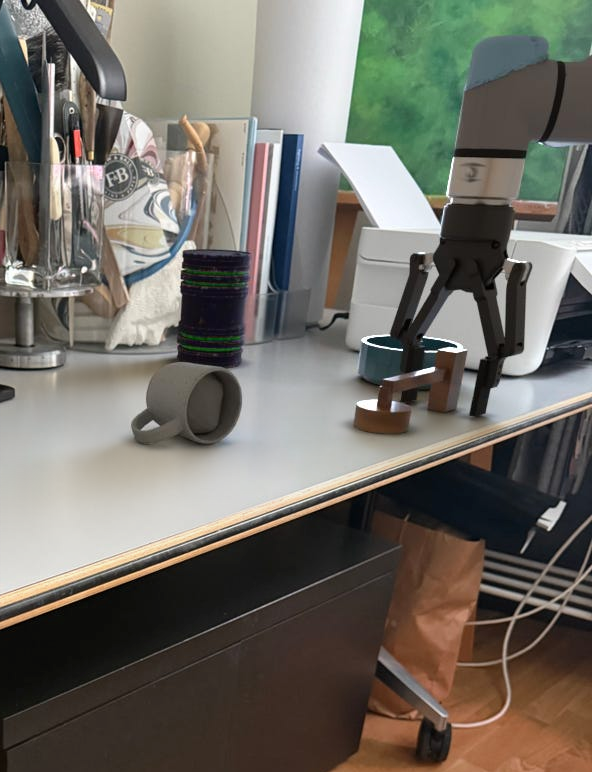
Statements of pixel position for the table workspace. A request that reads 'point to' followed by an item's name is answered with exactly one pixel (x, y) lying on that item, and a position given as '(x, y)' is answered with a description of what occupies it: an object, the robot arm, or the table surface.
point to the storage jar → (213, 307)
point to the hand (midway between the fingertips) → (441, 407)
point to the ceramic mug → (190, 404)
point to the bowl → (394, 356)
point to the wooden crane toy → (396, 415)
